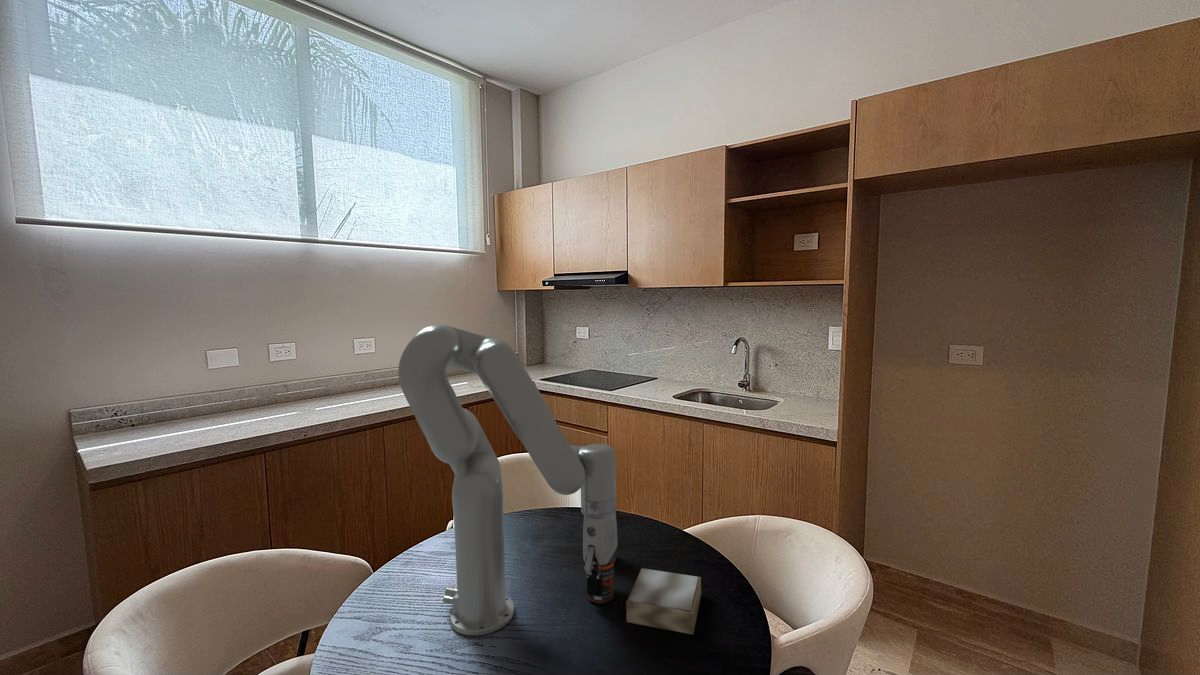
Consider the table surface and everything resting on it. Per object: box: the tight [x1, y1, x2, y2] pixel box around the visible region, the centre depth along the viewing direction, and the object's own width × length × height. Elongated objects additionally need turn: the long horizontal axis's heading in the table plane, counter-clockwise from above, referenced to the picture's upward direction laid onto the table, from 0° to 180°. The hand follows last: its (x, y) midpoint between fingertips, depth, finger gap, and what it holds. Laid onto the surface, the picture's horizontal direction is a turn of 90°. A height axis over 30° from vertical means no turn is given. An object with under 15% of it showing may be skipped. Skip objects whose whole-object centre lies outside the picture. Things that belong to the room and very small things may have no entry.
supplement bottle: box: [586, 555, 615, 605], centre depth 102 cm, size 6×6×11 cm
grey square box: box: [625, 567, 702, 635], centre depth 98 cm, size 13×13×4 cm
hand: (600, 584), depth 102 cm, fingers open, 6 cm apart
